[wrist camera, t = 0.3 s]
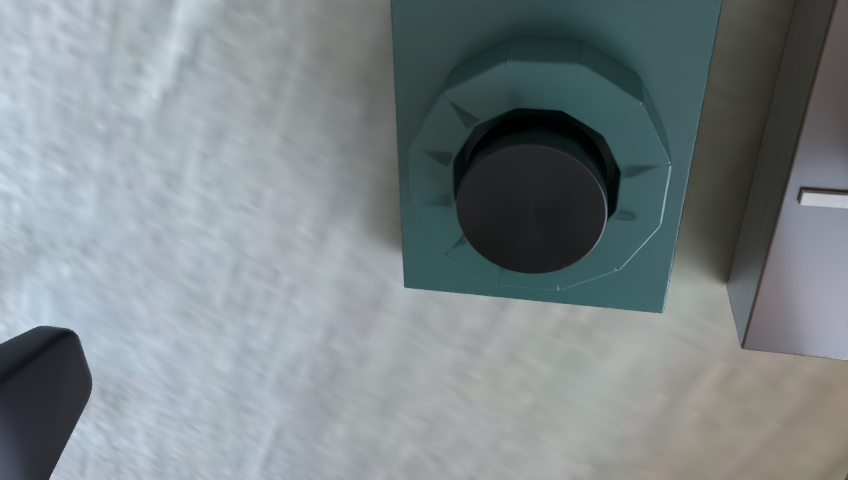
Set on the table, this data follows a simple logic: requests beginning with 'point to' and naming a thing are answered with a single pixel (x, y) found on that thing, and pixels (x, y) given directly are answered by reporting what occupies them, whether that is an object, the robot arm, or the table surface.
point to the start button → (534, 195)
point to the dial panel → (800, 199)
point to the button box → (561, 98)
